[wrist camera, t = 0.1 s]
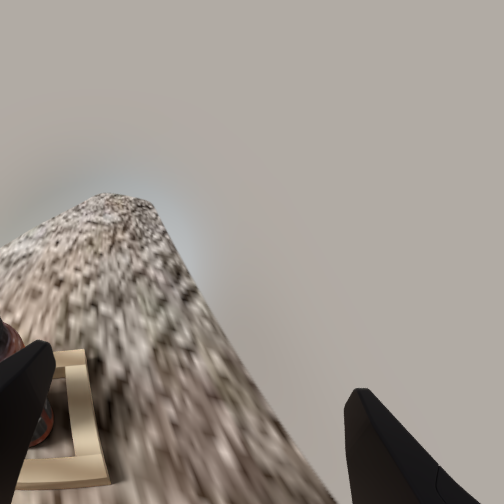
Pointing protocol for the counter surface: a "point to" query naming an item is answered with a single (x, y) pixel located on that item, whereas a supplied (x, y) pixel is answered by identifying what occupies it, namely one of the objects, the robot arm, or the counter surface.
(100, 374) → the counter surface
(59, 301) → the counter surface
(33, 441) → the supplement bottle
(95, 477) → the birch collar
